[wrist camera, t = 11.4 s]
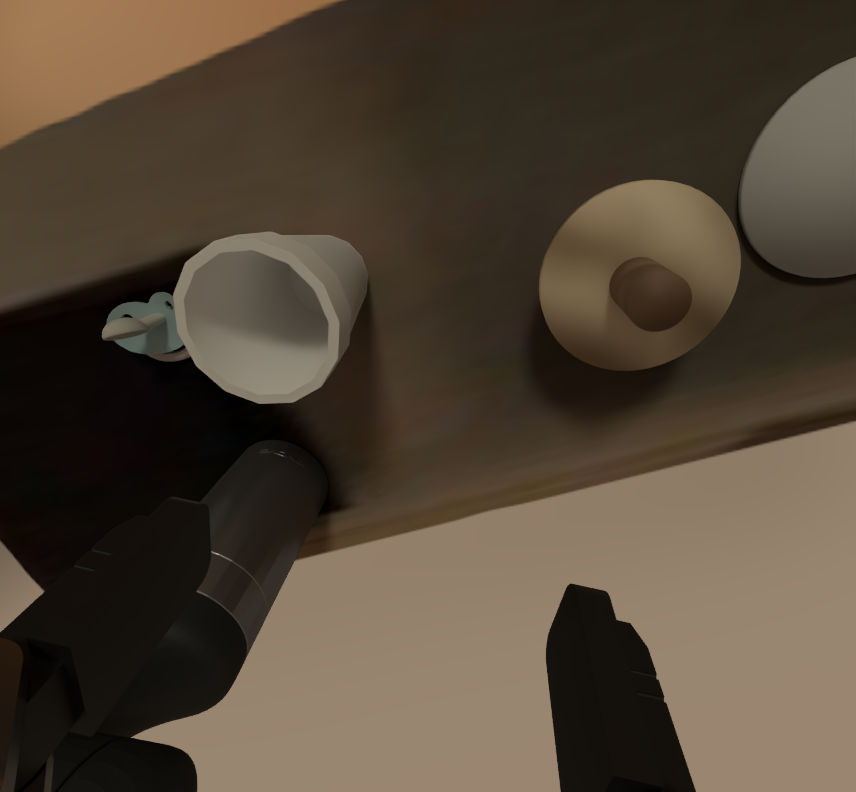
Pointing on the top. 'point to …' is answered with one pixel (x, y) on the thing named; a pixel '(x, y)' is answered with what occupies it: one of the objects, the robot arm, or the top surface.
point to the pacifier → (147, 328)
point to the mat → (806, 180)
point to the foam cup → (270, 312)
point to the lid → (639, 274)
